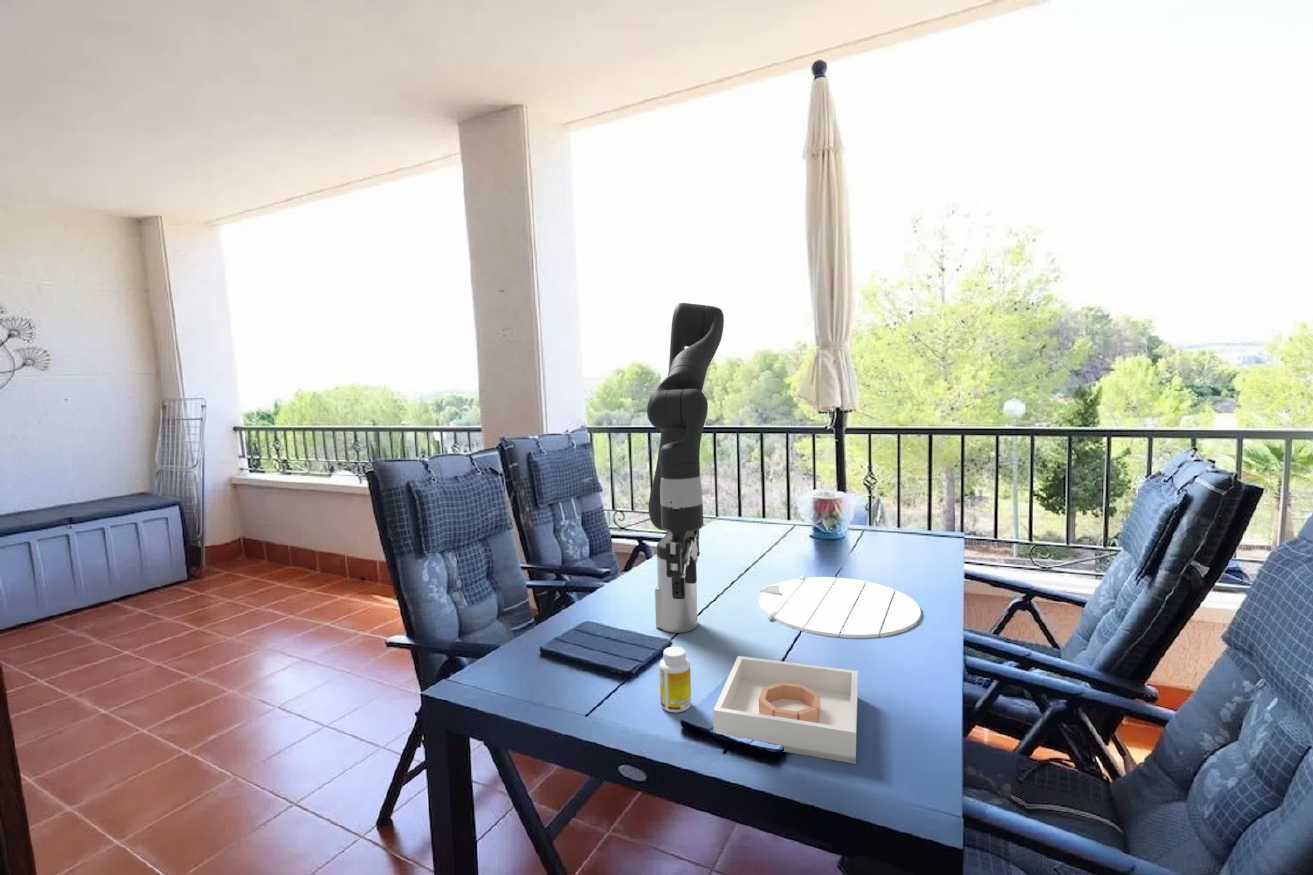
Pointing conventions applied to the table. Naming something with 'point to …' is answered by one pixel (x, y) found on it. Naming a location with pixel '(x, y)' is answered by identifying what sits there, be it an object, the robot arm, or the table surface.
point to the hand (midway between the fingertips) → (685, 590)
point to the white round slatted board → (839, 607)
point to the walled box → (791, 707)
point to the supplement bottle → (675, 680)
